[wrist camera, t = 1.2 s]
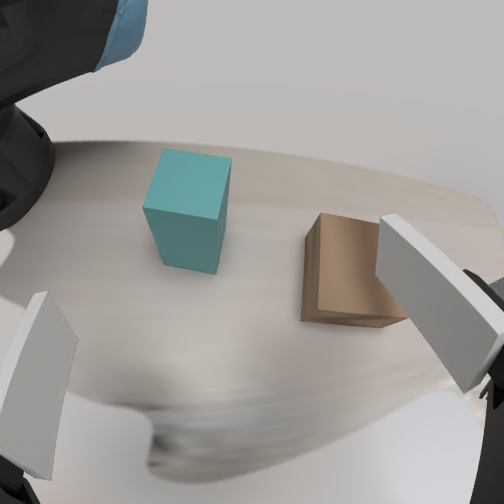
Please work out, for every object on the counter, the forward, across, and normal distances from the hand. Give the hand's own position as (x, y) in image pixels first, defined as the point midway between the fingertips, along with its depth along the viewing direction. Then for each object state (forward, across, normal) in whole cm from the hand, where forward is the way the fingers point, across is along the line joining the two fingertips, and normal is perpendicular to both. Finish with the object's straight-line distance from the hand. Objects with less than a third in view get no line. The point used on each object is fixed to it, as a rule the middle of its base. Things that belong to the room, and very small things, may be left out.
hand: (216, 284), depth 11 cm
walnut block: (+12, +11, -12) cm, 20 cm away
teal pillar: (+16, -2, -7) cm, 17 cm away
